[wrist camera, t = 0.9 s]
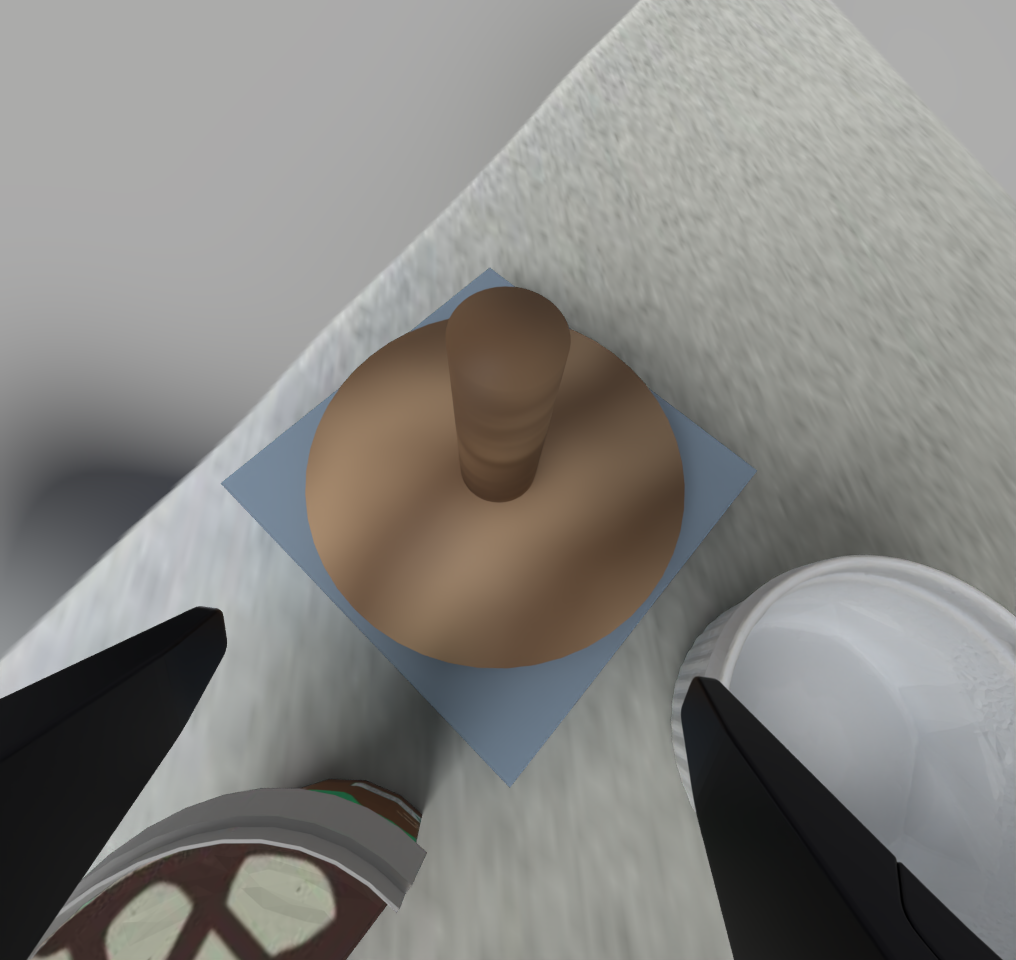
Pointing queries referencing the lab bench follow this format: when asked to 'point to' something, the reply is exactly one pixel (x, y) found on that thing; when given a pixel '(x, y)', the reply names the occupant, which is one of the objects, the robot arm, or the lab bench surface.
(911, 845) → the ramekin
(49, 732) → the robot arm
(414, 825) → the food container
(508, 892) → the lab bench surface
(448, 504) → the lid
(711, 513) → the mat
